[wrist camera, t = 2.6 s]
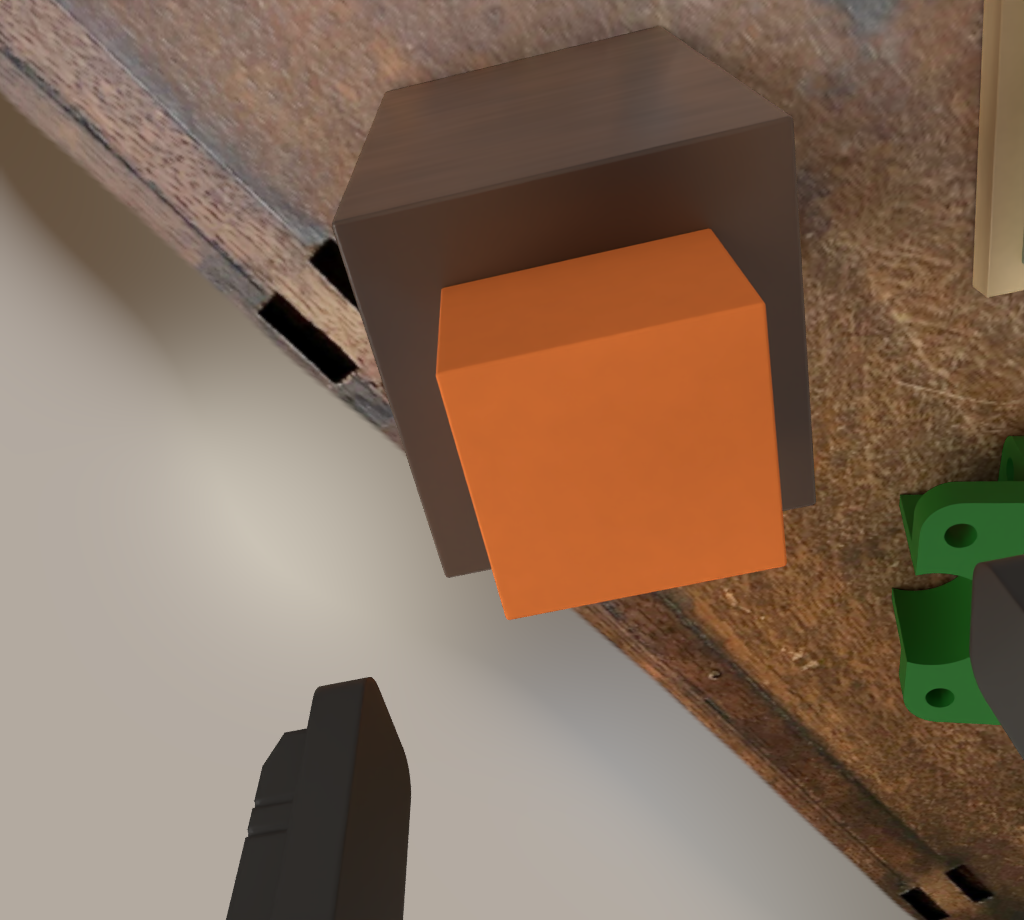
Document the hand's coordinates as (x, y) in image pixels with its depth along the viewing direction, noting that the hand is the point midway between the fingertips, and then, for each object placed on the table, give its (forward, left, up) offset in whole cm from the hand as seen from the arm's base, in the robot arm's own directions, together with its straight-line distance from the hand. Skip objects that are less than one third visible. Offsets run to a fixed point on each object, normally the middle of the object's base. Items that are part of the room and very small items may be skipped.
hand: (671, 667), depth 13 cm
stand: (0, 0, -23) cm, 23 cm away
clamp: (+23, -3, -23) cm, 33 cm away
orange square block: (0, 0, -9) cm, 9 cm away
